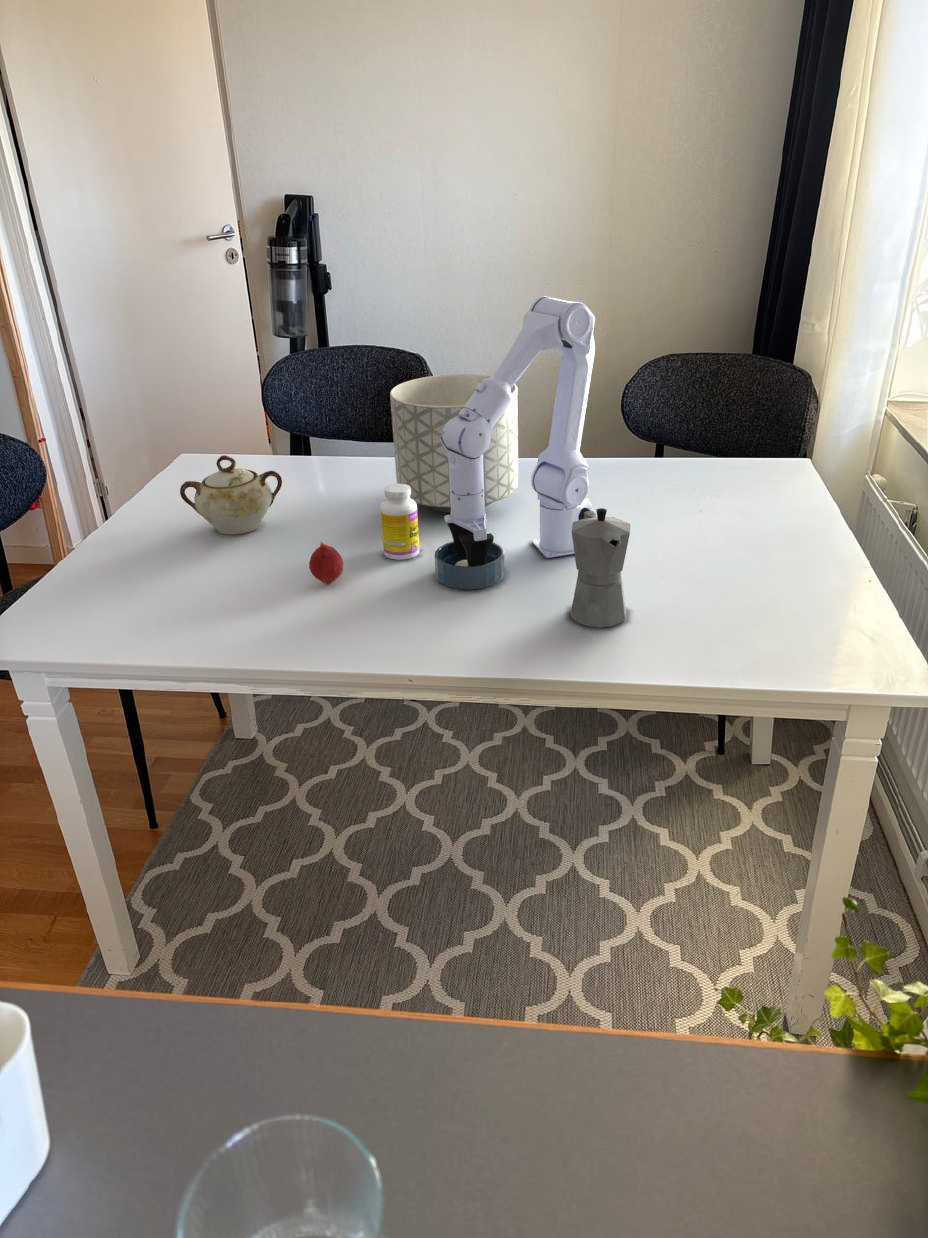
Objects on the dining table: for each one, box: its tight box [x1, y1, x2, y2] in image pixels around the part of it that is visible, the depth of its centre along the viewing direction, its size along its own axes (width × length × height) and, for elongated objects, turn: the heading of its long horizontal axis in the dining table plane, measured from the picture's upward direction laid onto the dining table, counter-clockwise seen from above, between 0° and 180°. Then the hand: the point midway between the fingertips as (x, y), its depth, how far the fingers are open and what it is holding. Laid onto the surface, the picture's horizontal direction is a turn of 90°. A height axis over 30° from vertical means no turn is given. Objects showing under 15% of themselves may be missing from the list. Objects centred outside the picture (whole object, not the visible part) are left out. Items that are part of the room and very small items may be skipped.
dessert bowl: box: [434, 540, 506, 590], centre depth 164 cm, size 12×12×4 cm
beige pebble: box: [455, 560, 468, 566], centre depth 164 cm, size 4×5×2 cm
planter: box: [389, 373, 519, 513], centre depth 191 cm, size 25×25×24 cm
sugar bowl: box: [179, 454, 283, 536], centre depth 186 cm, size 20×15×15 cm
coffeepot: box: [570, 507, 631, 629], centre depth 147 cm, size 15×9×18 cm, turn 13°
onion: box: [308, 540, 344, 585], centre depth 162 cm, size 6×6×8 cm
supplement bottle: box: [379, 483, 420, 561], centre depth 172 cm, size 7×7×13 cm
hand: (469, 563), depth 164 cm, fingers open, 7 cm apart
